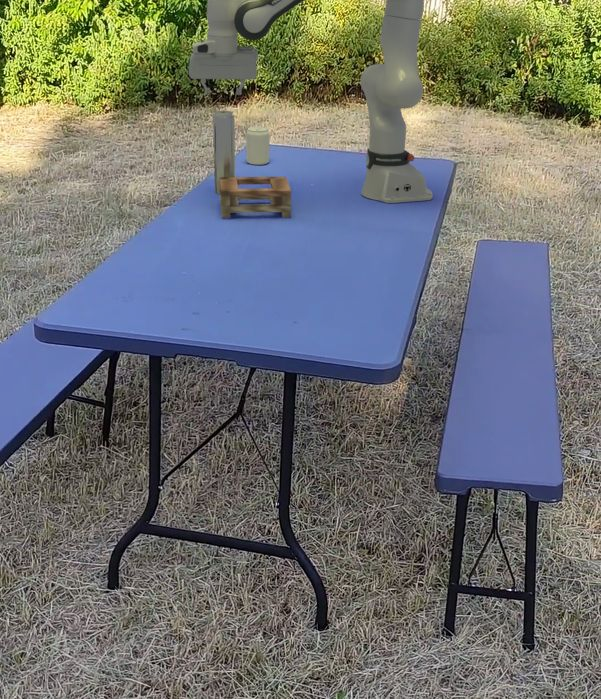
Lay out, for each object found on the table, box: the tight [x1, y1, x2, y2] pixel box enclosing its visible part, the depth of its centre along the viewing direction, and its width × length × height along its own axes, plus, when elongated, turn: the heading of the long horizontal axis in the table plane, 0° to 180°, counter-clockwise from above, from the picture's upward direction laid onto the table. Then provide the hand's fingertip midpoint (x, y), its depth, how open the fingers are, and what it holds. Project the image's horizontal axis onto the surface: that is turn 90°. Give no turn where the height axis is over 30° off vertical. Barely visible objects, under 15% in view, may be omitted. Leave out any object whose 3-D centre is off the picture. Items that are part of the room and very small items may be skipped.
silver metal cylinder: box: [212, 110, 236, 195], centre depth 264 cm, size 6×6×25 cm
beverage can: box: [245, 126, 270, 166], centre depth 301 cm, size 8×8×12 cm
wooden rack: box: [219, 176, 292, 219], centre depth 252 cm, size 20×15×8 cm
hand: (223, 94), depth 256 cm, fingers open, 8 cm apart
